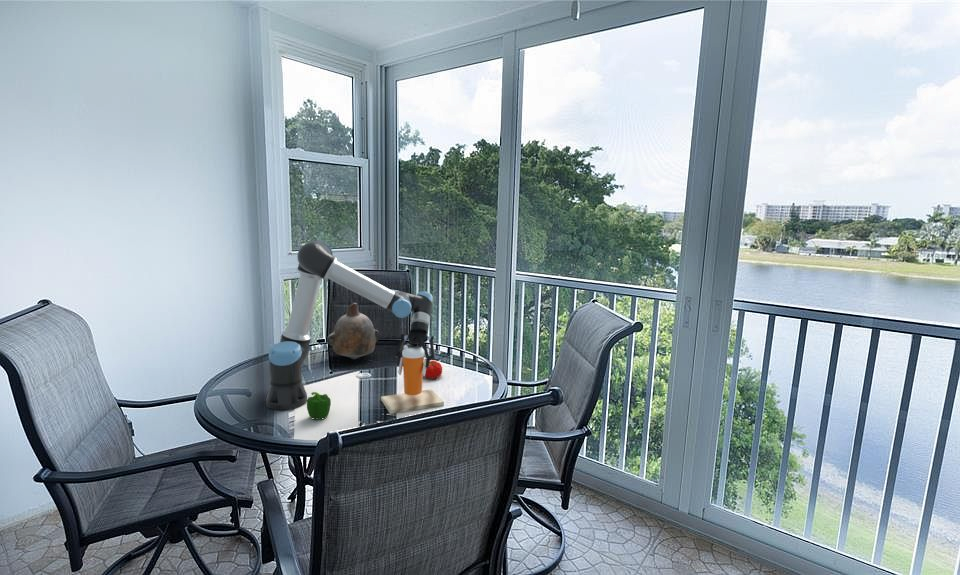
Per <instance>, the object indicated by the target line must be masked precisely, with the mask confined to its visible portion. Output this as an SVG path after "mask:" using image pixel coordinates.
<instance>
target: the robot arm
mask: <svg viewBox="0 0 960 575" xmlns="http://www.w3.org/2000/svg"><path fill="white" fill-rule="evenodd" d="M296 257H297V262H298V266H297V272H298V273H299V277H298V278H299V279H298V283H297V286H296V291H295V295H294V299H293V303H292V307H291V312H290V316H289V320H288V323H287V328H286V329H285V330H283V331H282V333H281V336H280V339H279V340H280V341H279V342H277V343H274V344H272V346H271V347H270V348H269V351H268V362H269V364H268V365H269V367H268V368H269V382H270V383H269V384H270V385H269V389H268V392H267V396H266V399H265V405H266V407H267V408H269V409H271V410H275V411H287V410H292V409H297V408H299V407H301V406H304V405H305V404H307V399H308V394H307V391H306V389H305V386H304V383H303V373H302V372H303V371H302V368H303V367H302V366H303V363H304V361H305V360H306V359H307V357H308V356H309V353H310V344H311V340H312V336H311V334H310V332H309V331H310V328H311V325H312V319H313V316H314V313H315V308H316V304H317V300H318V296H319V292H320V288H321V284H322V281H323V280H327V279H328V280H330V281H333V282H334V283H336V284H338V285H340V286H342V287H344V288H346V289H348V290H349V291H352V292H353V293H356V294H357V295H359V296H361V297H362V298H365V299H366V300H369V301H370V302H371V303H372V302H373V303H374V304H376V305H378V306H380V307H382V308H384V309H385V310H387V311H389V312H391V313H392V314H394V316H395V317H397V318H400V319H404V318H407V317H408V316H410V314H411V313H412V319H411V324H410V328H409V333H408V334H407V335H404V334H403V333H402V334H401V336H400V341H399V343H398V345H397V348H396V349H395V351H394V353H393V354H394V356H395V359H397V367H398V371H397V373H398V375H399V376H402V372H403V356H402V351H403V349H404V345H405V344H406V341H407V340H408V342H407V343H409V342H411V343H412V344H422V348H423V349H424V351H425V356H424V365H423V371H422V375H423V377H425V372H426V368H429V363H430V361H433V360H434V361H435V359H436V358H435V347H434V343H435V337H434V336H433V335H431V336H429V328H430V327H429V326H430V321H431V315H432V310H433V302H434V301H433V300H434V296H433V295H432V294H431V292H428V291H422V290H421V291H418V292H417V293H416V294H413V293H408V292H404V291H400V290H398V289H397V290H396V289H390V288H388V287H386V286H384V285H382V284H380V283H379V282H377V281H375V280H373V279H371V278H369V277H368V276H366V275H365V274H362V273H360V272H358V271H356V270H355V269H353V268H350V267H349V266H347V265H345V264H343V263H342V262H340V261H338V257H336V256H334V254H333V250H332V248H331V246H330V245H329V244H328V243H326V241H324V240H323V241H322V240H319V239H315V240H314V239H313V240H310V241H308V242H306V243H305V244H302V246H301V247H299V249H298V251H297V256H296ZM427 341H428V342H429V347H430V355H429V352H428V350H427V347H426V344H425V343H426V342H427ZM425 357H426V358H425Z"/></svg>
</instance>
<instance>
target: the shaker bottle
mask: <svg viewBox="0 0 960 575" xmlns="http://www.w3.org/2000/svg"><path fill="white" fill-rule="evenodd" d="M402 350H403V351H402ZM402 350H401V351H402V356H403V367H402V372H403V390H404V391H403V392H404V393H405V394H407V395H418V394H420V393H421V392H422V391H423V377H424V376H423V375H422V371H423V364H424V359H425V357H426V356H425V351H424V349H423V348H422V344H412V343H411V342H409V343H408V342H407V343H405V344H404V345H403V348H402Z"/></svg>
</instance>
